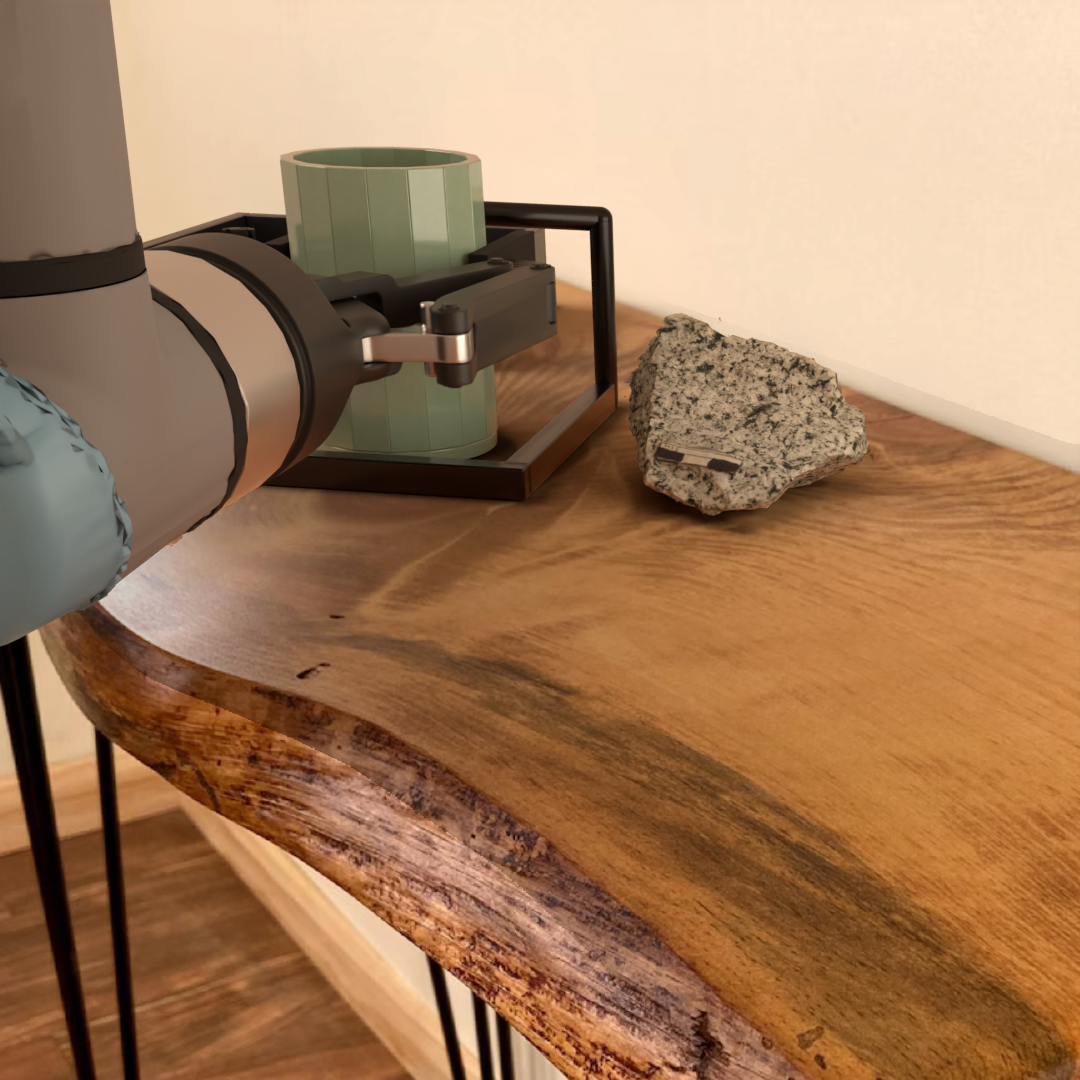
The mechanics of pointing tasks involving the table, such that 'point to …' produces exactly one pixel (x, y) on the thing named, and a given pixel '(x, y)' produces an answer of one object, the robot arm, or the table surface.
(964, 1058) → the table surface
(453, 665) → the table surface
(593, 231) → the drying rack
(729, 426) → the rock sample
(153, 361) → the robot arm
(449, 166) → the cup
